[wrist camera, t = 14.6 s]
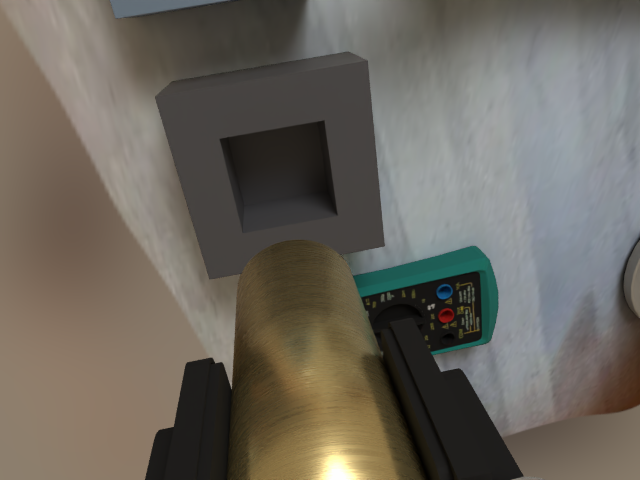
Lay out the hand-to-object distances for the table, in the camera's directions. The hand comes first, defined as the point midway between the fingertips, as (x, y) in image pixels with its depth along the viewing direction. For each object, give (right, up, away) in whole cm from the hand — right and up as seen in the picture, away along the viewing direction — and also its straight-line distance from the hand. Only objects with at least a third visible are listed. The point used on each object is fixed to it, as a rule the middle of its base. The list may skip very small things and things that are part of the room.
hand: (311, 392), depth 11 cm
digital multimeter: (+5, -1, +25) cm, 25 cm away
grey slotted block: (-2, +9, +18) cm, 20 cm away
